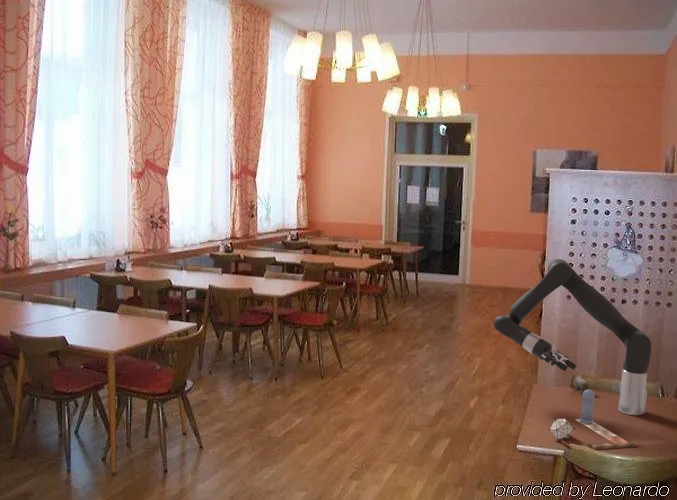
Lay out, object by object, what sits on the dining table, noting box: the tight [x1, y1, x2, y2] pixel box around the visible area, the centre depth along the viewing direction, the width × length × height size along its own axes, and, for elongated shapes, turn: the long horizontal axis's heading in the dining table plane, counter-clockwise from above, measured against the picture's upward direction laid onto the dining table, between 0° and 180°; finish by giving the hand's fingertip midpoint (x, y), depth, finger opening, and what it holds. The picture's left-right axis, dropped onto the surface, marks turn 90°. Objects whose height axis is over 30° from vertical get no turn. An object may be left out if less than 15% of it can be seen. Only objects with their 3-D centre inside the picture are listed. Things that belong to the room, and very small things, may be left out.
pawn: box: [578, 389, 596, 425], centre depth 277 cm, size 5×5×13 cm
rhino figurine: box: [572, 375, 590, 395], centre depth 320 cm, size 4×14×6 cm, turn 5°
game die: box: [547, 416, 576, 442], centre depth 260 cm, size 9×8×10 cm
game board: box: [575, 418, 639, 450], centre depth 268 cm, size 18×26×1 cm
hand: (571, 368), depth 283 cm, fingers open, 8 cm apart
